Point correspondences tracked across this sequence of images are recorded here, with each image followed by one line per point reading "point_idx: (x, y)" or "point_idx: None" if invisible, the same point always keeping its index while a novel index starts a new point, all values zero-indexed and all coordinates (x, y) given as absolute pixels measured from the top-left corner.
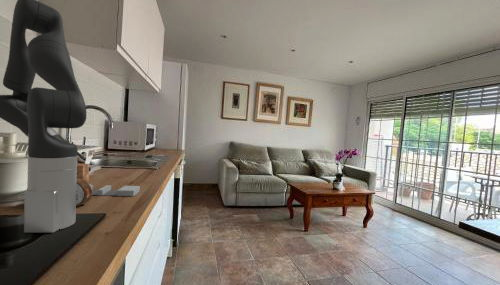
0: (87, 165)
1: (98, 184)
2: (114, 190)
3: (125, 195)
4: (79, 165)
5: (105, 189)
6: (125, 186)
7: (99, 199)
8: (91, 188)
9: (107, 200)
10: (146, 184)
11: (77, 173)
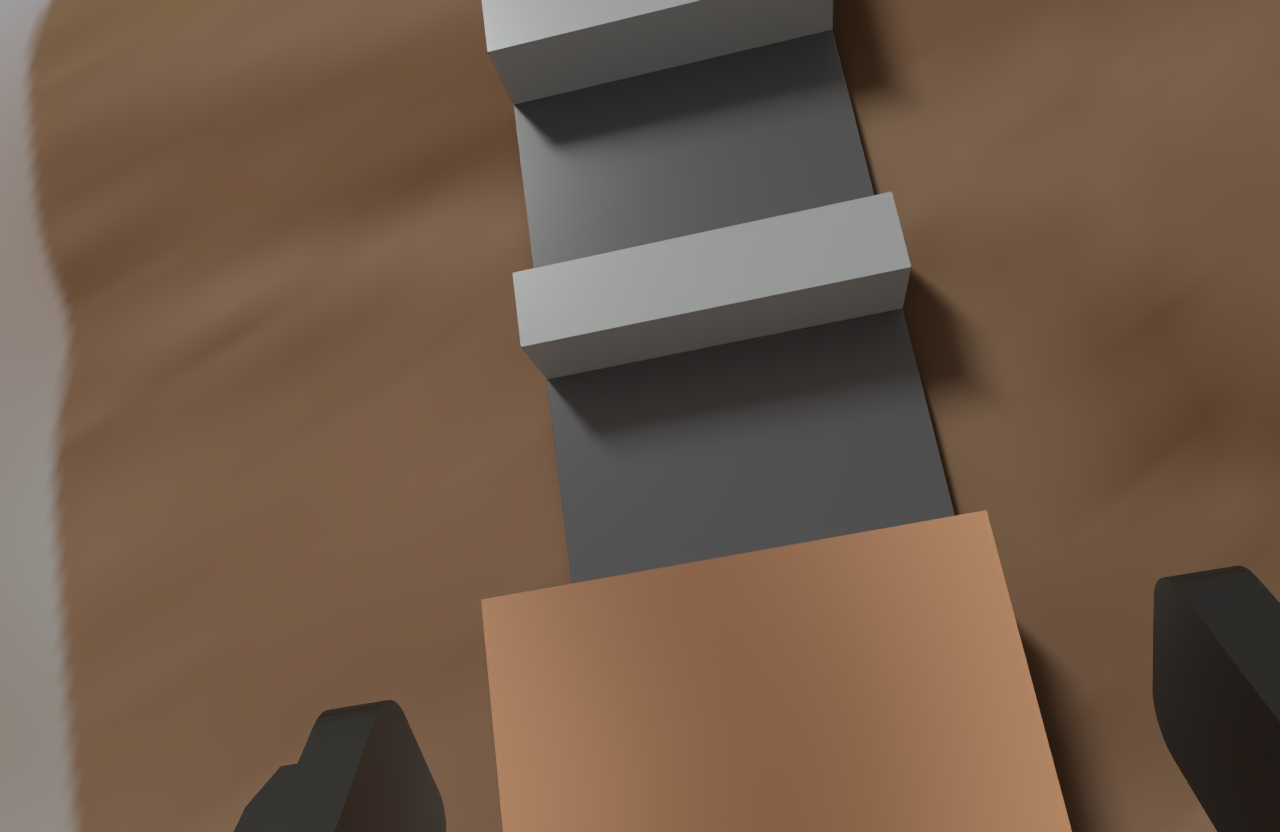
0: (619, 583)
1: (130, 819)
2: (560, 237)
3: None
4: (1026, 668)
5: (758, 232)
6: (540, 12)
7: (1103, 146)
8: None
9: (1110, 13)
10: (69, 44)
11: (1210, 572)
